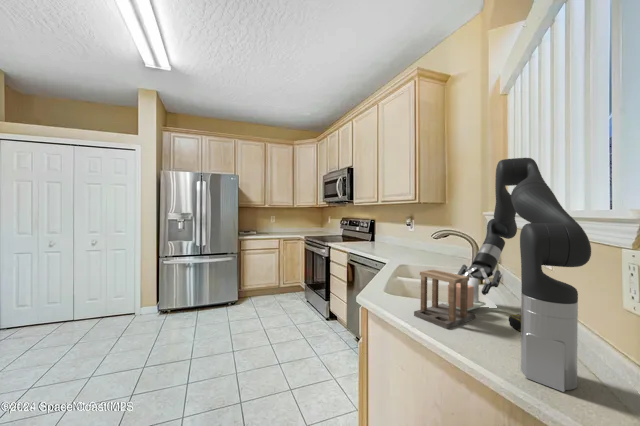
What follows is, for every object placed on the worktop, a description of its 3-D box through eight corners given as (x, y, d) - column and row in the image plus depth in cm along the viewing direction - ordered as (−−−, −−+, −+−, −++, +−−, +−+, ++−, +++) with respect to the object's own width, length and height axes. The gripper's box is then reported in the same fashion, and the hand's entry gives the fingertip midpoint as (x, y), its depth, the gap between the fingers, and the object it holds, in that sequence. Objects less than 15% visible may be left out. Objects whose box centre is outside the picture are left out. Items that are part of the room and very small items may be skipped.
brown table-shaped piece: (448, 329, 79) (448, 281, 79) (412, 315, 90) (413, 272, 91) (476, 318, 88) (477, 275, 88) (441, 306, 99) (441, 268, 99)
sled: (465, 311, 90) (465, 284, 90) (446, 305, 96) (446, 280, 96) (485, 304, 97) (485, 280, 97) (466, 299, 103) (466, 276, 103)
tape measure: (542, 333, 78) (542, 320, 78) (526, 336, 76) (526, 323, 76) (519, 324, 85) (519, 312, 85) (503, 326, 83) (503, 314, 83)
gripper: (465, 249, 109) (449, 280, 103) (504, 254, 97) (488, 289, 91) (472, 261, 112) (456, 291, 106) (510, 267, 100) (495, 302, 94)
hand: (471, 290), depth 98 cm, fingers open, 8 cm apart
